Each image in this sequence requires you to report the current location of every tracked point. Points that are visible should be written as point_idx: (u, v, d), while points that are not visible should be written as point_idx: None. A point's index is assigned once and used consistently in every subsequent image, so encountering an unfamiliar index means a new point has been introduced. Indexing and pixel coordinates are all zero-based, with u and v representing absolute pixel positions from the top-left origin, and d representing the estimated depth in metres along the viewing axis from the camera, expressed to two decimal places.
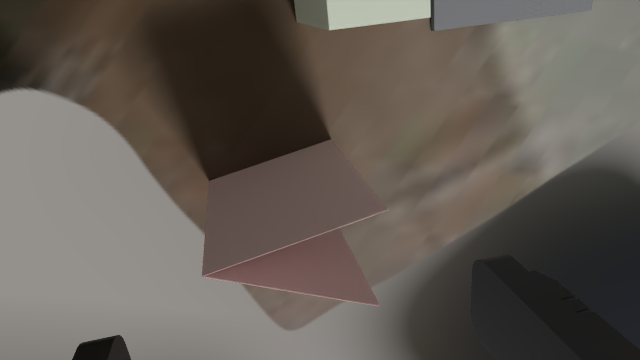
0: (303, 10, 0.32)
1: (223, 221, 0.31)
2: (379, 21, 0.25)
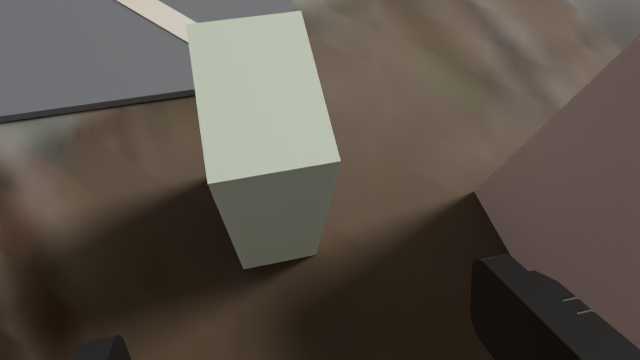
0: (301, 238, 0.21)
1: None
2: (316, 82, 0.15)
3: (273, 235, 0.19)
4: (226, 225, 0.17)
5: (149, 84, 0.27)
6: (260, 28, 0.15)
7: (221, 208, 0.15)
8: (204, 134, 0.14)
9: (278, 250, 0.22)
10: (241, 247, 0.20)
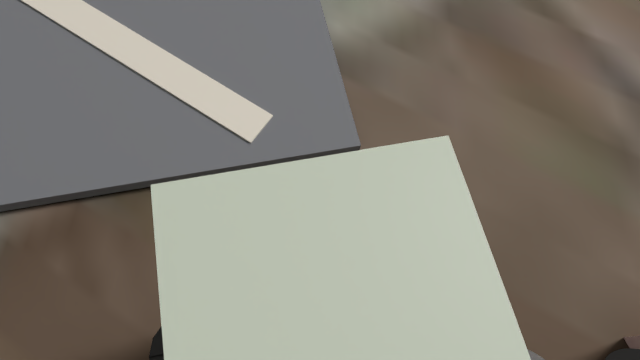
0: None
1: None
2: None
3: None
4: None
5: (119, 167, 0.18)
6: (351, 191, 0.06)
7: None
8: None
9: None
10: None
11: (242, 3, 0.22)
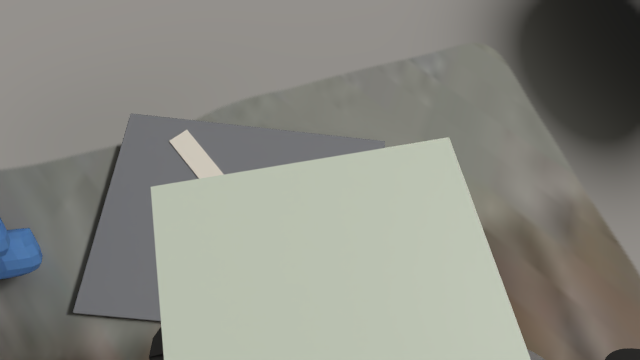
0: None
1: None
2: None
3: None
4: None
5: None
6: (351, 194, 0.06)
7: None
8: None
9: None
10: None
11: None
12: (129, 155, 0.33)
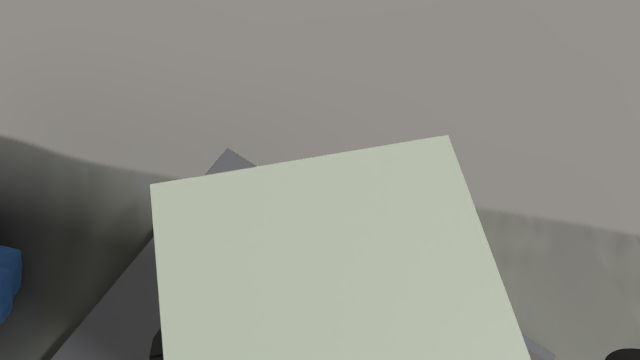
0: None
1: None
2: None
3: None
4: None
5: None
6: (350, 191, 0.06)
7: None
8: None
9: None
10: None
11: None
12: None
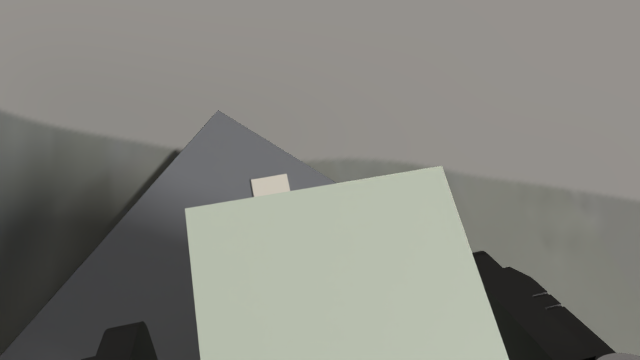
0: None
1: None
2: None
3: None
4: None
5: None
6: (357, 215, 0.07)
7: None
8: None
9: None
10: None
11: None
12: (182, 175, 0.20)
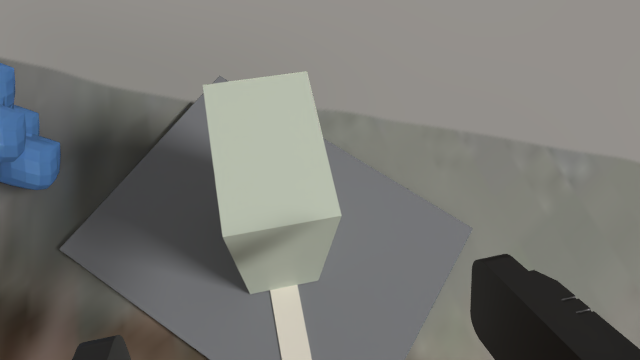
0: (305, 269, 0.22)
1: None
2: (320, 140, 0.16)
3: (279, 268, 0.21)
4: (237, 264, 0.18)
5: (207, 337, 0.24)
6: (270, 88, 0.17)
7: (233, 252, 0.16)
8: (219, 190, 0.15)
9: (283, 279, 0.23)
10: (249, 278, 0.21)
11: (371, 280, 0.26)
12: (195, 117, 0.30)
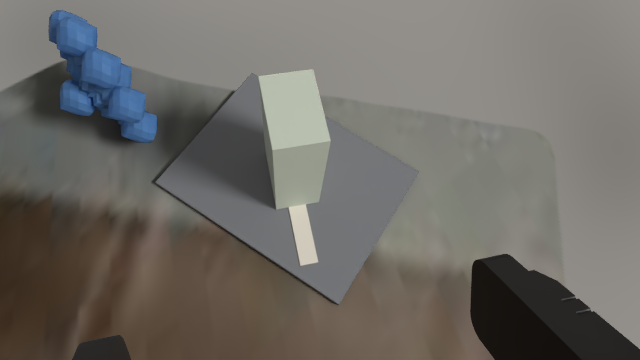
0: (311, 187, 0.37)
1: None
2: (320, 104, 0.31)
3: (296, 183, 0.36)
4: (274, 174, 0.33)
5: (250, 234, 0.40)
6: (293, 78, 0.32)
7: (274, 163, 0.32)
8: (269, 128, 0.30)
9: (297, 195, 0.38)
10: (278, 191, 0.36)
11: (352, 202, 0.41)
12: (237, 100, 0.45)
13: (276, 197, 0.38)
